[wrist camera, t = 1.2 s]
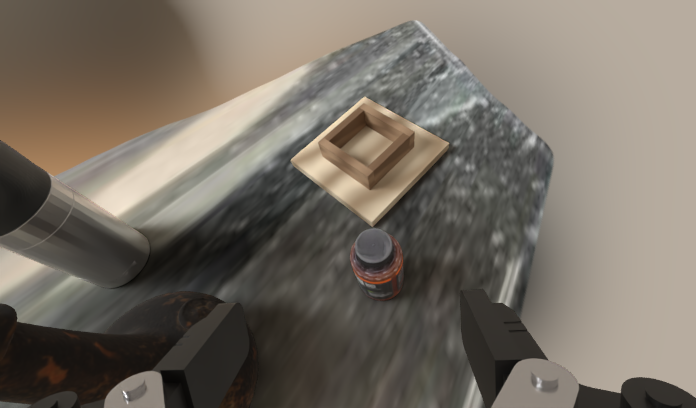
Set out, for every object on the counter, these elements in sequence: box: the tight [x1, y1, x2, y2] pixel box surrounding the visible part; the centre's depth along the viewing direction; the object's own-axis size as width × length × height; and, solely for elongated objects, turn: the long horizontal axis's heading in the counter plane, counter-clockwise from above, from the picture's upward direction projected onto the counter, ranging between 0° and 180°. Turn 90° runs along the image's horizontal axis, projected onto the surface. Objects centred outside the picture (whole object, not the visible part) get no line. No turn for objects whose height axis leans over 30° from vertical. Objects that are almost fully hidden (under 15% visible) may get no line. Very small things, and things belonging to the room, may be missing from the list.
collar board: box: [291, 97, 449, 227], centre depth 53 cm, size 18×18×5 cm
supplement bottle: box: [350, 228, 404, 301], centre depth 40 cm, size 6×6×11 cm
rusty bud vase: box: [0, 291, 258, 408], centre depth 29 cm, size 18×18×28 cm
